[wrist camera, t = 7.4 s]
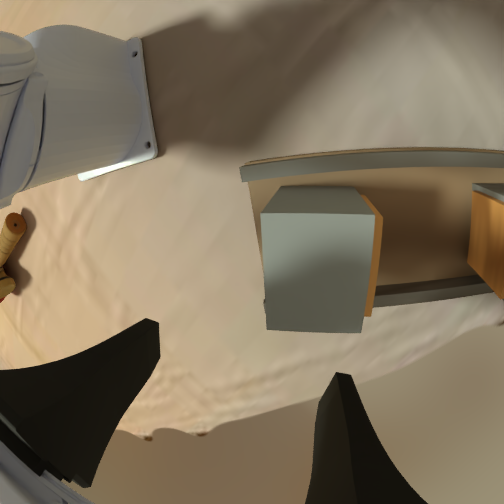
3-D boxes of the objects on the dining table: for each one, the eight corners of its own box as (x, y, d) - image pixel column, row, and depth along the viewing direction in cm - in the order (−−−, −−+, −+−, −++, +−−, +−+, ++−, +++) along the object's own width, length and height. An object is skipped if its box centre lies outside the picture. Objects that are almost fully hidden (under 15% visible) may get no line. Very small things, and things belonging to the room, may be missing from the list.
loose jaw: (281, 185, 15) (260, 213, 10) (362, 186, 14) (388, 215, 9) (283, 268, 17) (266, 329, 12) (357, 270, 16) (372, 333, 11)
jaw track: (250, 161, 17) (204, 178, 10) (507, 151, 12) (579, 168, 5) (272, 292, 20) (247, 369, 13) (499, 272, 15) (549, 327, 8)
